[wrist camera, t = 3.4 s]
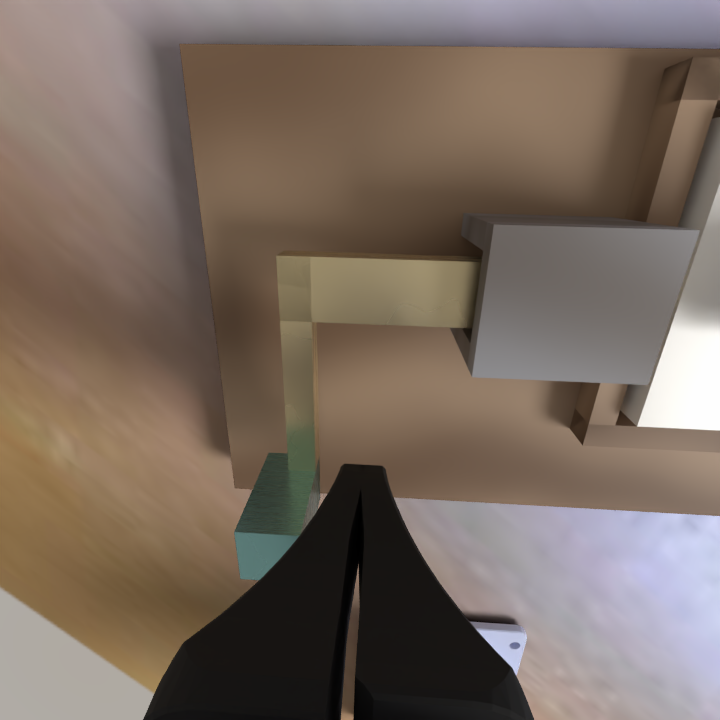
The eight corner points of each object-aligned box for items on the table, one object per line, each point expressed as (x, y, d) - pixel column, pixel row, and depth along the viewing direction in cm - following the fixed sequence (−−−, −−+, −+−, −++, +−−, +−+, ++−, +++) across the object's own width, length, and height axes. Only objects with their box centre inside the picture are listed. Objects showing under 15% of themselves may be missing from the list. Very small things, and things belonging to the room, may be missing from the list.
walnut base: (834, 495, 16) (1012, 619, 12) (246, 463, 17) (196, 565, 13) (1095, 70, 11) (1634, -17, 6) (203, 60, 12) (85, -21, 7)
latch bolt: (576, 510, 13) (631, 605, 10) (272, 492, 13) (240, 578, 11) (650, 261, 10) (762, 295, 7) (252, 249, 10) (200, 275, 7)
